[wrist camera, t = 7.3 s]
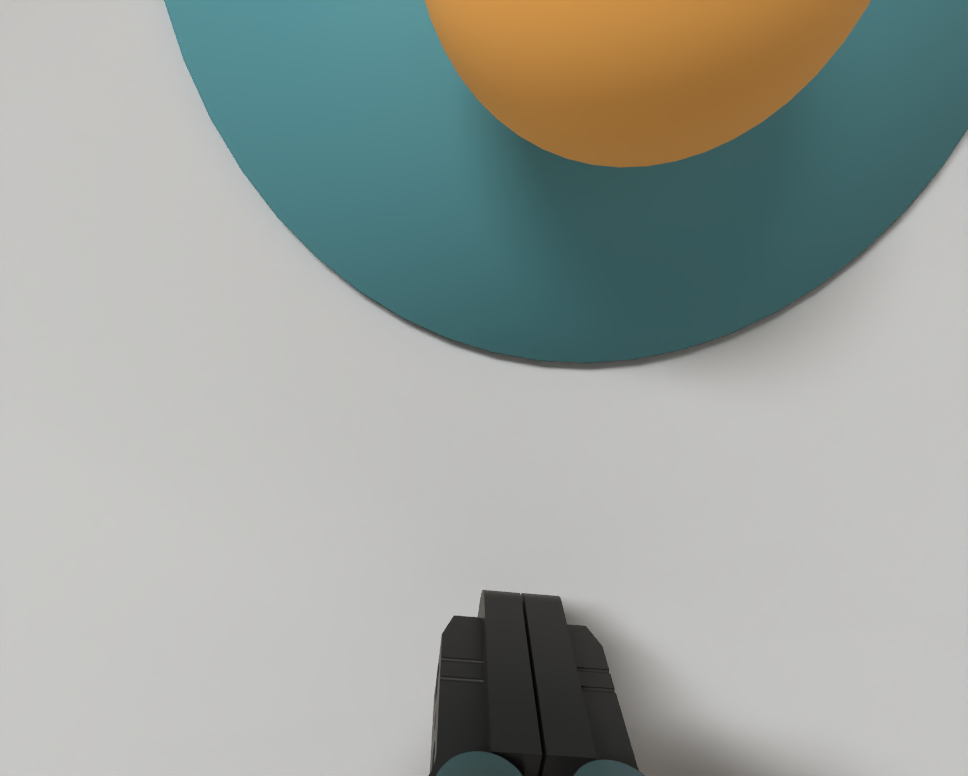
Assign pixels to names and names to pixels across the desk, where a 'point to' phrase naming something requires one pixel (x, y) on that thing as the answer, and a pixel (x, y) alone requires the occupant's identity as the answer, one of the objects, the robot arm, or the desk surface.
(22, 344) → the desk surface
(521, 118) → the ball
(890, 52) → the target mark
